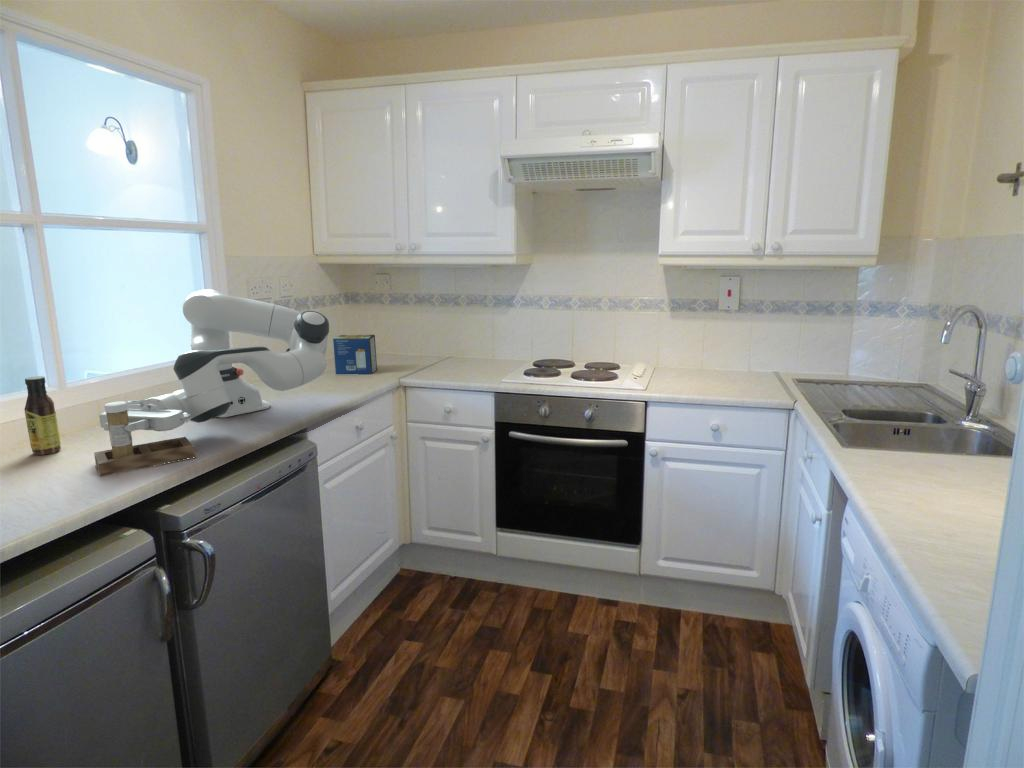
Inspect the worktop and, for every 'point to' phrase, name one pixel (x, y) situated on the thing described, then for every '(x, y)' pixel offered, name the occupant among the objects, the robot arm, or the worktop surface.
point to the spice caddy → (145, 456)
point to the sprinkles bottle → (119, 429)
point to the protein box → (355, 354)
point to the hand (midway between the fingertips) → (116, 428)
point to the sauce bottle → (41, 418)
